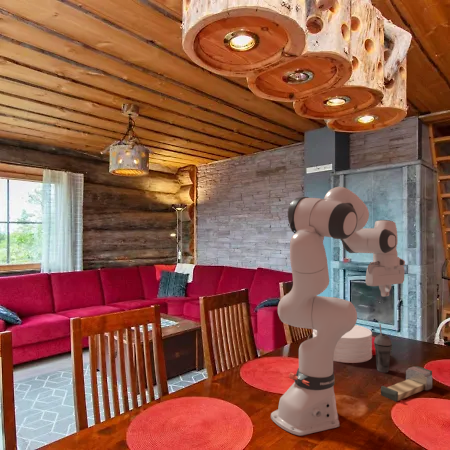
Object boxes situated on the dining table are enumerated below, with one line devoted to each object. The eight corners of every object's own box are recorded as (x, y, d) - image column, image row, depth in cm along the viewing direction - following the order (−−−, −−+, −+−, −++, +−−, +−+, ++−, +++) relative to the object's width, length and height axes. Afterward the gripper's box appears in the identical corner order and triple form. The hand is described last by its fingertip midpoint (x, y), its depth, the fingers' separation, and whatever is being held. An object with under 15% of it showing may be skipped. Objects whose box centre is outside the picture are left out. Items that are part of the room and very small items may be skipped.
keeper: (426, 390, 138) (426, 374, 138) (405, 382, 145) (405, 367, 145) (432, 388, 140) (432, 372, 140) (411, 380, 147) (411, 365, 147)
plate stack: (310, 342, 196) (310, 321, 197) (364, 345, 193) (364, 323, 193) (316, 361, 169) (316, 336, 169) (379, 364, 165) (379, 339, 165)
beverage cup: (393, 374, 153) (393, 327, 154) (375, 372, 155) (375, 326, 155) (389, 368, 160) (389, 322, 161) (372, 366, 162) (372, 321, 162)
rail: (396, 401, 129) (396, 384, 129) (380, 395, 134) (380, 378, 134) (432, 386, 142) (432, 370, 142) (416, 380, 147) (416, 366, 147)
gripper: (375, 262, 136) (375, 299, 135) (407, 261, 146) (407, 295, 146) (361, 261, 141) (361, 297, 141) (393, 259, 152) (393, 293, 151)
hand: (385, 296), depth 143 cm, fingers closed
